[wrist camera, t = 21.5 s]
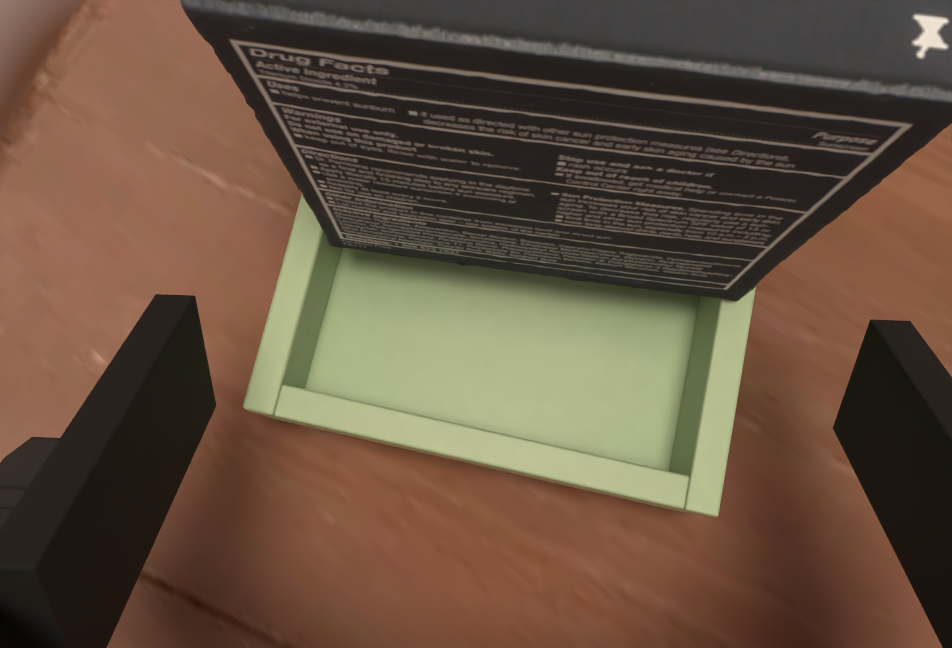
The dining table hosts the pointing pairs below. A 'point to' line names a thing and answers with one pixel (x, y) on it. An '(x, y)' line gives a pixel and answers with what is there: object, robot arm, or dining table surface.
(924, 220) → the dining table surface
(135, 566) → the robot arm
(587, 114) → the small box
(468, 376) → the tray
